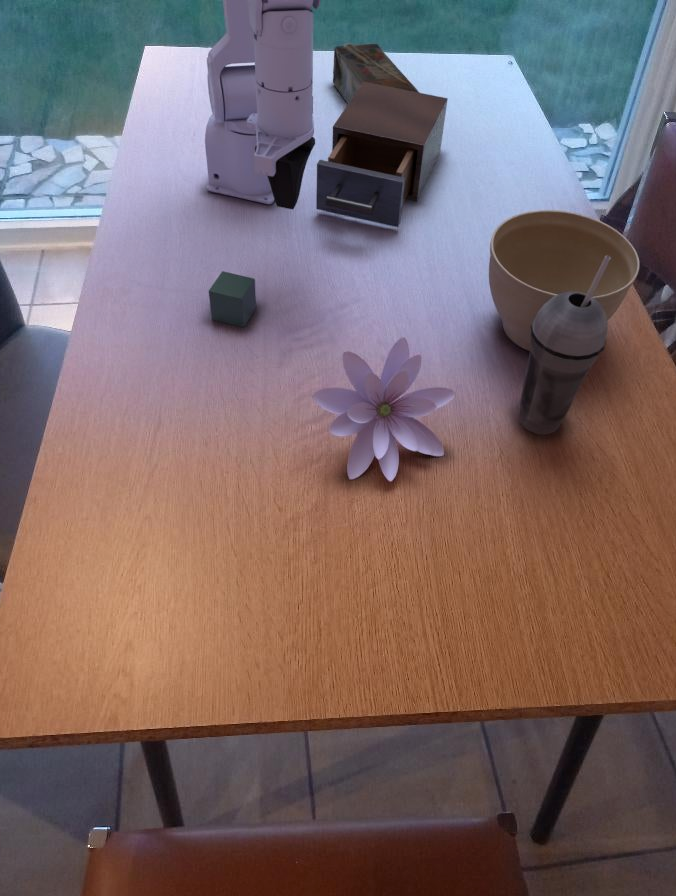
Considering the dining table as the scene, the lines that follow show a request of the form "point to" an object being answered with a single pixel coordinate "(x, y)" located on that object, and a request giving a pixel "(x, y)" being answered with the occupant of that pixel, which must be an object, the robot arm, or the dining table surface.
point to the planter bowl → (555, 265)
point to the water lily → (383, 410)
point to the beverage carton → (365, 69)
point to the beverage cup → (561, 355)
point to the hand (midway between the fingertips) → (286, 204)
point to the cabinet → (397, 124)
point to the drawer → (366, 180)
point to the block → (232, 299)
